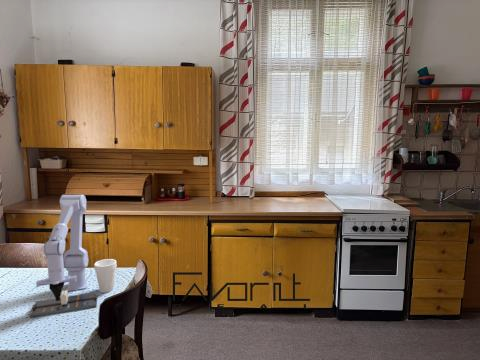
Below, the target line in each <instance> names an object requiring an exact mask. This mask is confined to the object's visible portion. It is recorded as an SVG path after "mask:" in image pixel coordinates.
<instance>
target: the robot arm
mask: <svg viewBox="0 0 480 360" xmlns="http://www.w3.org/2000/svg"><path fill="white" fill-rule="evenodd" d="M59 206H60V209H61V210H60V213H59V217H58V222H57V224H55V225H53V228H52V231H51V233H50V236H49V239H48V241H45V243H44V244H43V249H42V250H43V254H44V256H45V257H44V258H45V259H46V260H47V261H46V262H47V274H48V275H47V276H48V278H44V279H43V278H42V279H39V280H36V283H35V285H36V288H39V287H42V286H49V290H50V291H51V293H52V294H53V297H54V299H56V301H60V298H61V294H62V291H63V288H64V285H65V283H68V285H67V289H66V290H68V292H71V291H77V290H85V289H87V287H88V286H87V285H88V279H86V268H87V267H88V265H89V262H90V261H89V259H90V258H89V255H88V251H87V250H86V249H85V248H83V246H82V245H83V244H82V242H83V220H84V219H83V215H84V213H85V212H87V199H86V195H84V194H62V195H61V196H60V198H59ZM69 221H70V233H69V234H70V239H69V240H70V241H69V249H67V250H66V238H67V235H68V232H69V227H68V224H69ZM65 271H67V275H65Z"/></svg>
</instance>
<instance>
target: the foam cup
mask: <svg viewBox="0 0 480 360" xmlns="http://www.w3.org/2000/svg"><path fill="white" fill-rule="evenodd" d="M117 266H118V265H117V260H116V259H114V258H107V259H106V258H104V259H100V260H97V261H96V262H95V263H94V271H95V274H96V279H97V286H98V289H99V292H100V293H110V292H113V290H114V289H115V283H116V275H117V273H116V272H117Z"/></svg>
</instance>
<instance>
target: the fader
mask: <svg viewBox="0 0 480 360" xmlns="http://www.w3.org/2000/svg"><path fill="white" fill-rule="evenodd" d="M68 292H69V291H68V290H67V289H66V290H65V289H64V290H62V291H61V295H60V298H61V305H63V304H67V301H68V296H69V294H68Z"/></svg>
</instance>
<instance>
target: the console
mask: <svg viewBox="0 0 480 360" xmlns="http://www.w3.org/2000/svg"><path fill="white" fill-rule="evenodd" d="M97 302H98V291H95V292H89V293H82V294H76V295H68V301H67V304H63V305H61V297H60V301H56V299H55V298H49V299H42V300H37V301H35V303H34V304H32V307H31V309H32V310H31V312H30V314H29V318H30V319H33V318H38V317H46V316H50V315H58V314H62V313H68V312H73V311H75V312H76V311H79V310H80V311H81V310H87V309H92V308H97V305H98V303H97Z"/></svg>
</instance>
